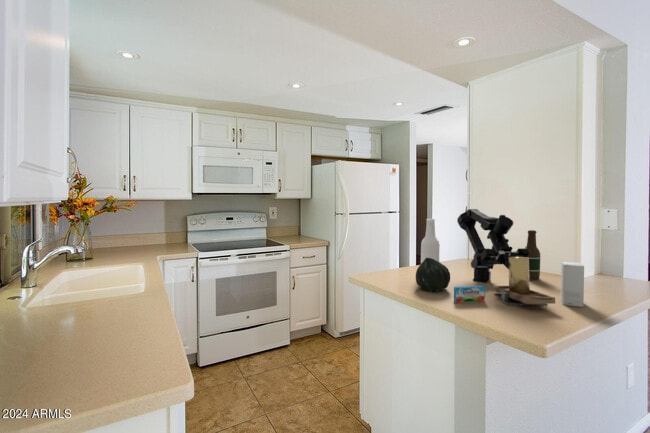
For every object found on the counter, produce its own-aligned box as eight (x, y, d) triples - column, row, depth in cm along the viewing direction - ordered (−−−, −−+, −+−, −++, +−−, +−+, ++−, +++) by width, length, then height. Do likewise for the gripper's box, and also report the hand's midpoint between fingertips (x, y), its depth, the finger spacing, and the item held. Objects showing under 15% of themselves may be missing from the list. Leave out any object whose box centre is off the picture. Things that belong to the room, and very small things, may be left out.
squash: (461, 277, 143) (439, 250, 149) (447, 286, 132) (424, 256, 138) (438, 293, 151) (418, 266, 157) (423, 302, 140) (402, 273, 146)
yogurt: (482, 300, 129) (483, 285, 128) (484, 302, 127) (485, 286, 127) (453, 302, 128) (453, 286, 127) (455, 303, 126) (455, 287, 126)
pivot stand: (496, 298, 131) (496, 289, 131) (533, 298, 131) (533, 289, 131) (507, 305, 123) (508, 296, 123) (546, 304, 123) (547, 295, 123)
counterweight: (507, 293, 128) (506, 257, 128) (511, 290, 133) (510, 256, 134) (527, 295, 123) (526, 258, 124) (531, 292, 128) (530, 257, 129)
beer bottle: (539, 277, 163) (541, 230, 161) (539, 281, 156) (541, 231, 154) (521, 275, 167) (523, 229, 165) (520, 279, 160) (522, 230, 159)
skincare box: (583, 307, 120) (585, 266, 119) (561, 304, 123) (563, 264, 122) (580, 301, 127) (582, 262, 126) (559, 298, 130) (561, 260, 129)
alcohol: (441, 277, 164) (442, 218, 162) (434, 281, 157) (435, 219, 155) (425, 275, 169) (425, 217, 167) (417, 278, 163) (418, 219, 161)
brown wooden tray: (492, 290, 138) (492, 285, 138) (516, 290, 139) (516, 285, 139) (527, 303, 115) (526, 297, 115) (555, 303, 116) (555, 297, 116)
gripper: (511, 251, 149) (526, 281, 138) (471, 251, 148) (482, 282, 138) (523, 236, 140) (539, 267, 130) (480, 237, 140) (493, 268, 130)
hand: (512, 271), depth 132 cm, fingers closed, pressing on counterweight
